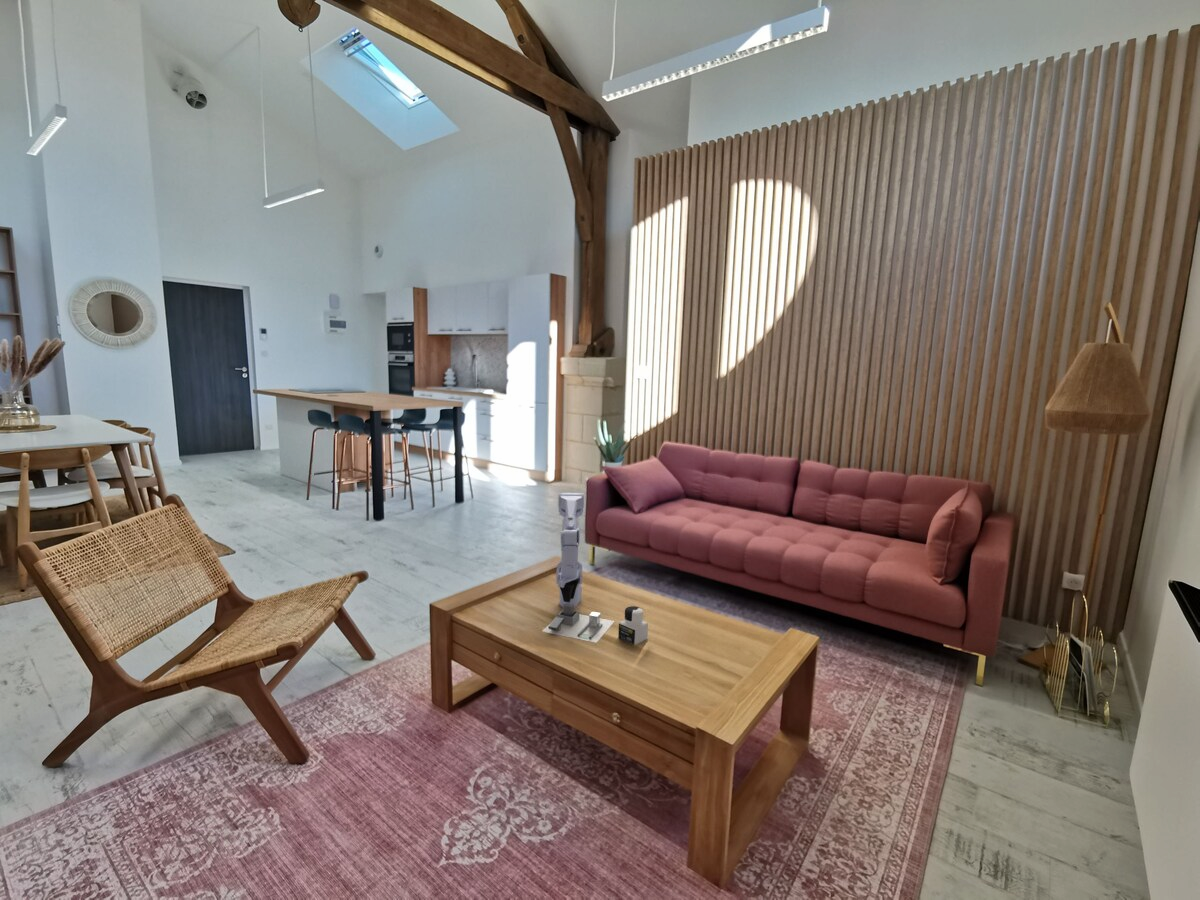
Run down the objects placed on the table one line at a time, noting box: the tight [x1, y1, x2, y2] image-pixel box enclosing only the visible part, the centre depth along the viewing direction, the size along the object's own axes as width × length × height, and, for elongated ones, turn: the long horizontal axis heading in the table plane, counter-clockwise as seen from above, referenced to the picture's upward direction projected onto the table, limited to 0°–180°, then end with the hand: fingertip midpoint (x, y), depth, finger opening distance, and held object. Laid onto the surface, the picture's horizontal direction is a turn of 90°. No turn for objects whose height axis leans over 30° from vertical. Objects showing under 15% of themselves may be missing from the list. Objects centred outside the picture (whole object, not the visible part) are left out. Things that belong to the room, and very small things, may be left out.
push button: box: [562, 604, 575, 617], centre depth 208 cm, size 4×4×4 cm
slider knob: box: [588, 611, 601, 627], centre depth 204 cm, size 3×3×4 cm
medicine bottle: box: [617, 605, 649, 646], centre depth 196 cm, size 7×7×12 cm
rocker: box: [547, 616, 564, 631], centre depth 201 cm, size 6×3×1 cm, turn 159°
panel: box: [541, 609, 615, 644], centre depth 205 cm, size 18×20×4 cm
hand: (568, 600), depth 207 cm, fingers open, 3 cm apart
